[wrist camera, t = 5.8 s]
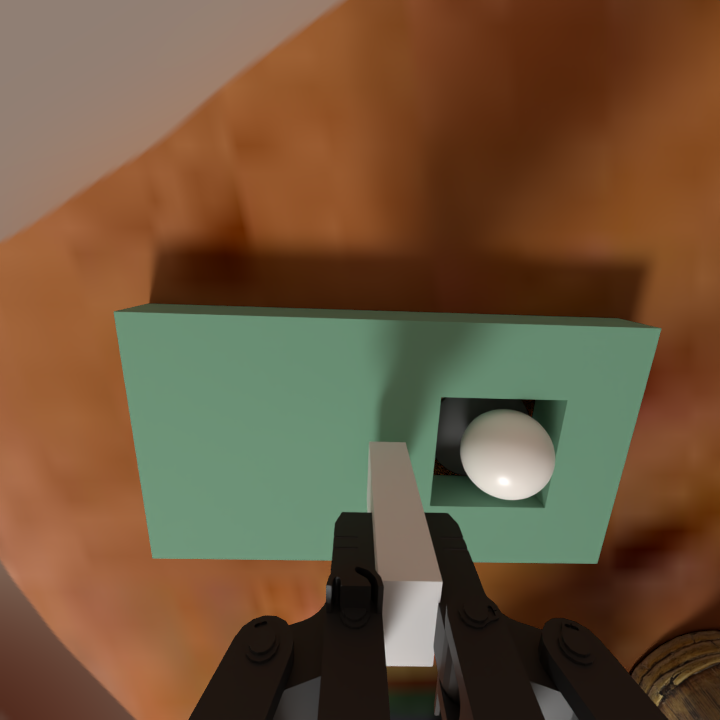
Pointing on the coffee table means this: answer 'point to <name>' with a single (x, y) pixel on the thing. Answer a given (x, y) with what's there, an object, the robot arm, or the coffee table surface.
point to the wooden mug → (684, 676)
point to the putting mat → (370, 422)
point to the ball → (507, 454)
